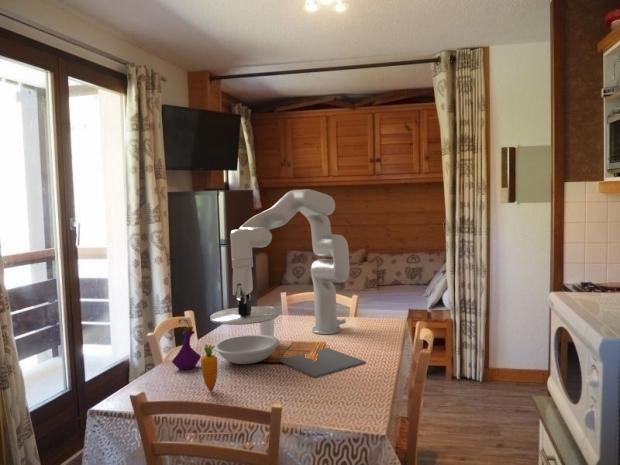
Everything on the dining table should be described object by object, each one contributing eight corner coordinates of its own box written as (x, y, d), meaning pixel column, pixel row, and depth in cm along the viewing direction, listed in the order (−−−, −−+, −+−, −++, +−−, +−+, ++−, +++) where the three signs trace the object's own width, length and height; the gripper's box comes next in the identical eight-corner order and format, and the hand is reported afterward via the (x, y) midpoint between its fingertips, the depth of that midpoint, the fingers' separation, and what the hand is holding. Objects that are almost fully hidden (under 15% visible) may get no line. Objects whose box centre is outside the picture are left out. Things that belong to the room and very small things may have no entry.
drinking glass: (276, 342, 210) (275, 306, 209) (274, 347, 203) (272, 309, 202) (260, 342, 211) (258, 306, 210) (257, 347, 204) (255, 310, 203)
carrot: (203, 389, 161) (201, 342, 160) (219, 388, 161) (217, 341, 160) (201, 395, 156) (198, 346, 155) (218, 394, 156) (215, 345, 155)
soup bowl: (252, 376, 171) (251, 357, 170) (200, 366, 183) (199, 348, 183) (293, 355, 191) (292, 338, 190) (243, 348, 204) (242, 331, 203)
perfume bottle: (201, 365, 184) (198, 316, 183) (190, 372, 177) (187, 321, 176) (184, 363, 187) (181, 315, 186) (172, 370, 180) (168, 320, 179)
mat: (327, 349, 197) (327, 347, 197) (365, 363, 179) (365, 361, 179) (279, 361, 184) (278, 360, 184) (314, 377, 166) (314, 376, 166)
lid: (258, 305, 203) (257, 290, 203) (292, 316, 183) (291, 298, 182) (199, 316, 189) (198, 299, 189) (229, 328, 169) (228, 309, 168)
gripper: (239, 260, 193) (242, 308, 195) (224, 266, 177) (227, 318, 178) (258, 260, 192) (261, 308, 193) (245, 266, 176) (248, 318, 177)
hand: (245, 312), depth 186 cm, fingers closed on lid, 4 cm apart
